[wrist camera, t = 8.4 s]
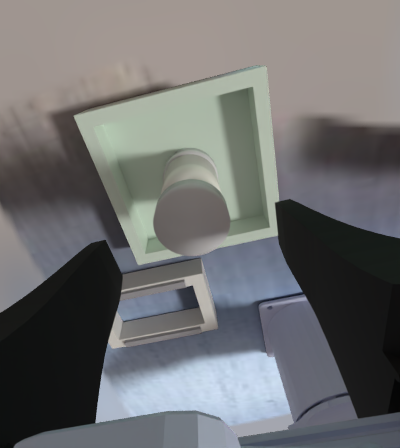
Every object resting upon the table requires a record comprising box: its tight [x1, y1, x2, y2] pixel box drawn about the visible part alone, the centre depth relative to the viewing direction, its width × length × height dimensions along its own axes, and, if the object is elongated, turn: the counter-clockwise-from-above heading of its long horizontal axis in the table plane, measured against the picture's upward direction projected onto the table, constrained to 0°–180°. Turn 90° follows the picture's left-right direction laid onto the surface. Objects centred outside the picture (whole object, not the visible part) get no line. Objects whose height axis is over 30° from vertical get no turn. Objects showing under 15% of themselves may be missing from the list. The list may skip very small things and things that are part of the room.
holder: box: [108, 258, 218, 349], centre depth 24 cm, size 10×7×2 cm, turn 103°
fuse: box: [153, 148, 230, 256], centre depth 16 cm, size 4×4×7 cm
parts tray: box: [74, 65, 279, 265], centre depth 18 cm, size 11×11×2 cm
